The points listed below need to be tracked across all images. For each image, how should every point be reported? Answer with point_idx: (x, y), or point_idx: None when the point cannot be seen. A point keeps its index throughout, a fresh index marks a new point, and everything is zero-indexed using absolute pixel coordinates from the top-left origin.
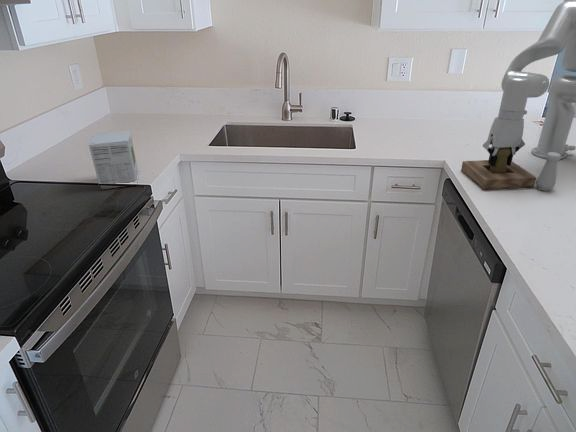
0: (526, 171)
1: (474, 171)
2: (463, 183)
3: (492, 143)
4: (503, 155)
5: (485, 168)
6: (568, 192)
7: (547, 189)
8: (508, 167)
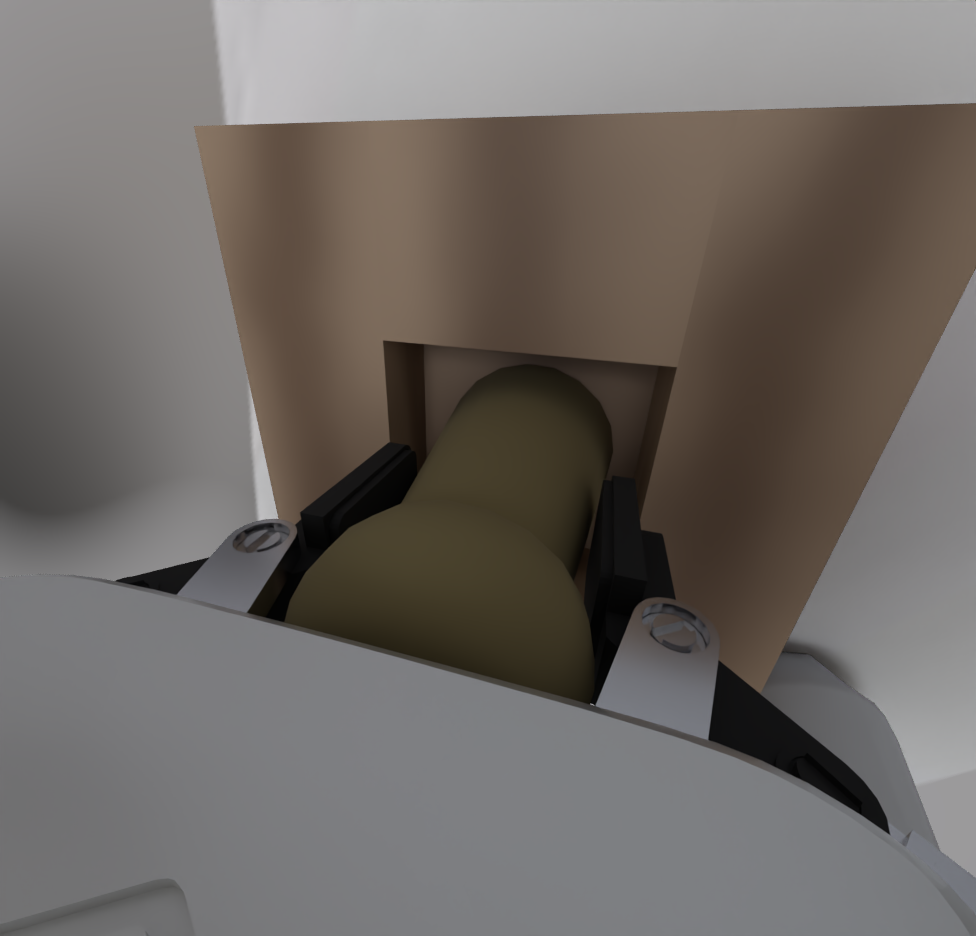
0: (778, 626)
1: (270, 461)
2: (261, 445)
3: (126, 606)
4: None
5: (385, 436)
6: (910, 772)
7: None
8: (665, 479)
